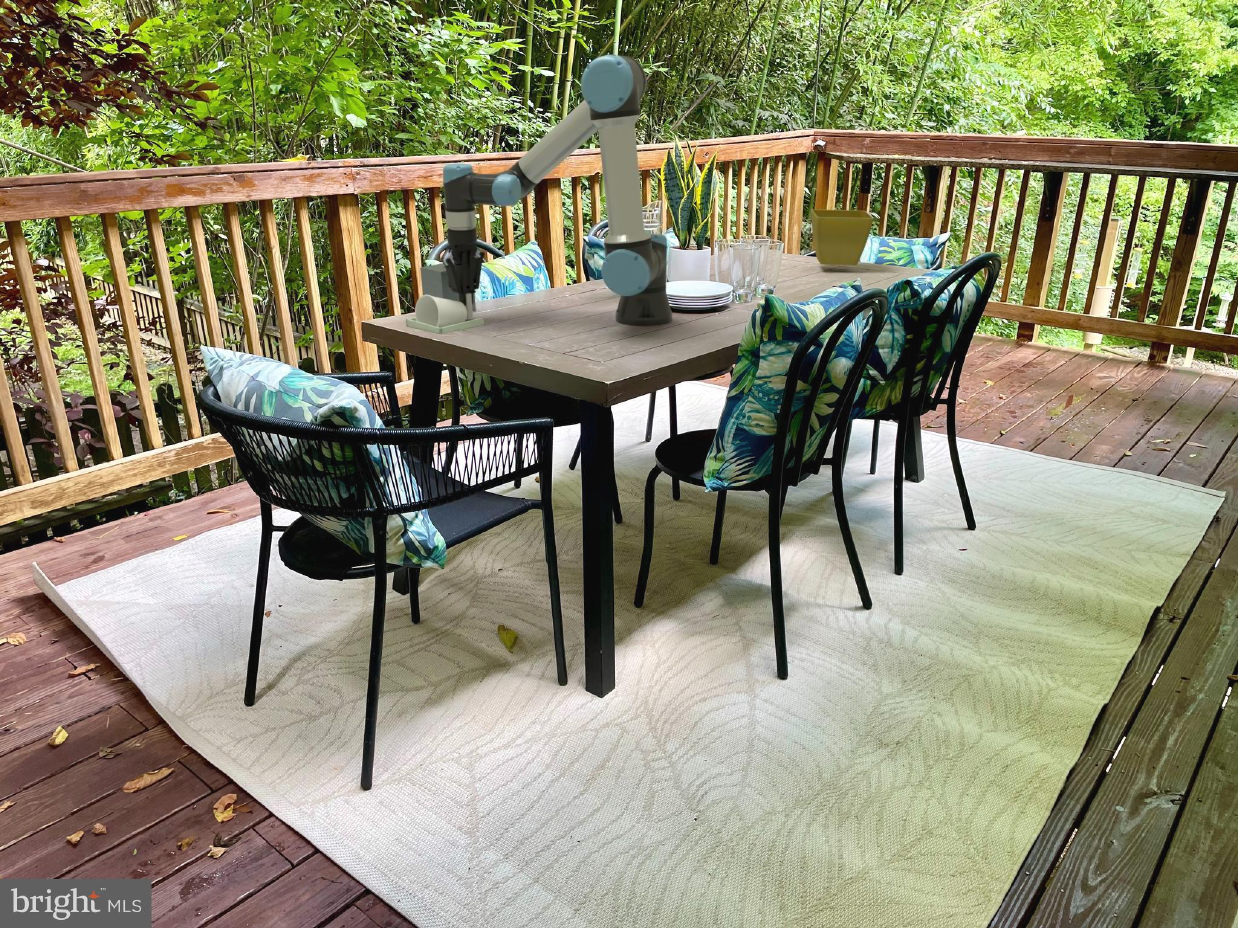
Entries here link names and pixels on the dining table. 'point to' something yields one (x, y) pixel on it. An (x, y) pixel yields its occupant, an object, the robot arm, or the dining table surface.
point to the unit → (439, 283)
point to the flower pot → (840, 235)
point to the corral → (451, 328)
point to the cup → (439, 311)
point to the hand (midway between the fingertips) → (467, 317)
